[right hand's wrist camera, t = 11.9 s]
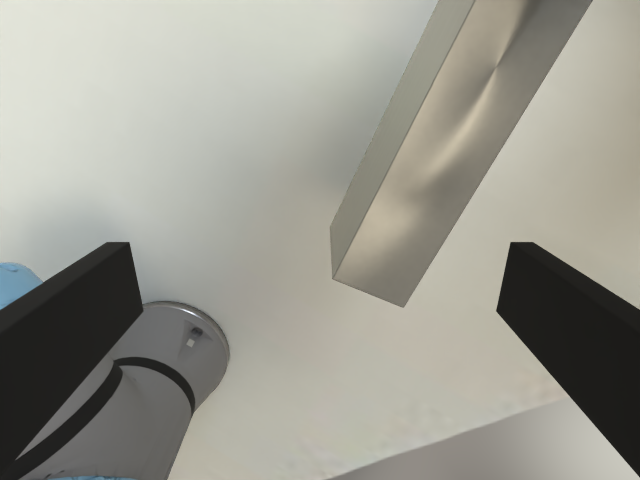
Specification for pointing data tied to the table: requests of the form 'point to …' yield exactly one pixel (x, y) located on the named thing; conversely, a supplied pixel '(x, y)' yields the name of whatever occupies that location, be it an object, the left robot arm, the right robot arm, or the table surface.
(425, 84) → the bar
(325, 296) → the table surface
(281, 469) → the table surface
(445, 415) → the table surface
